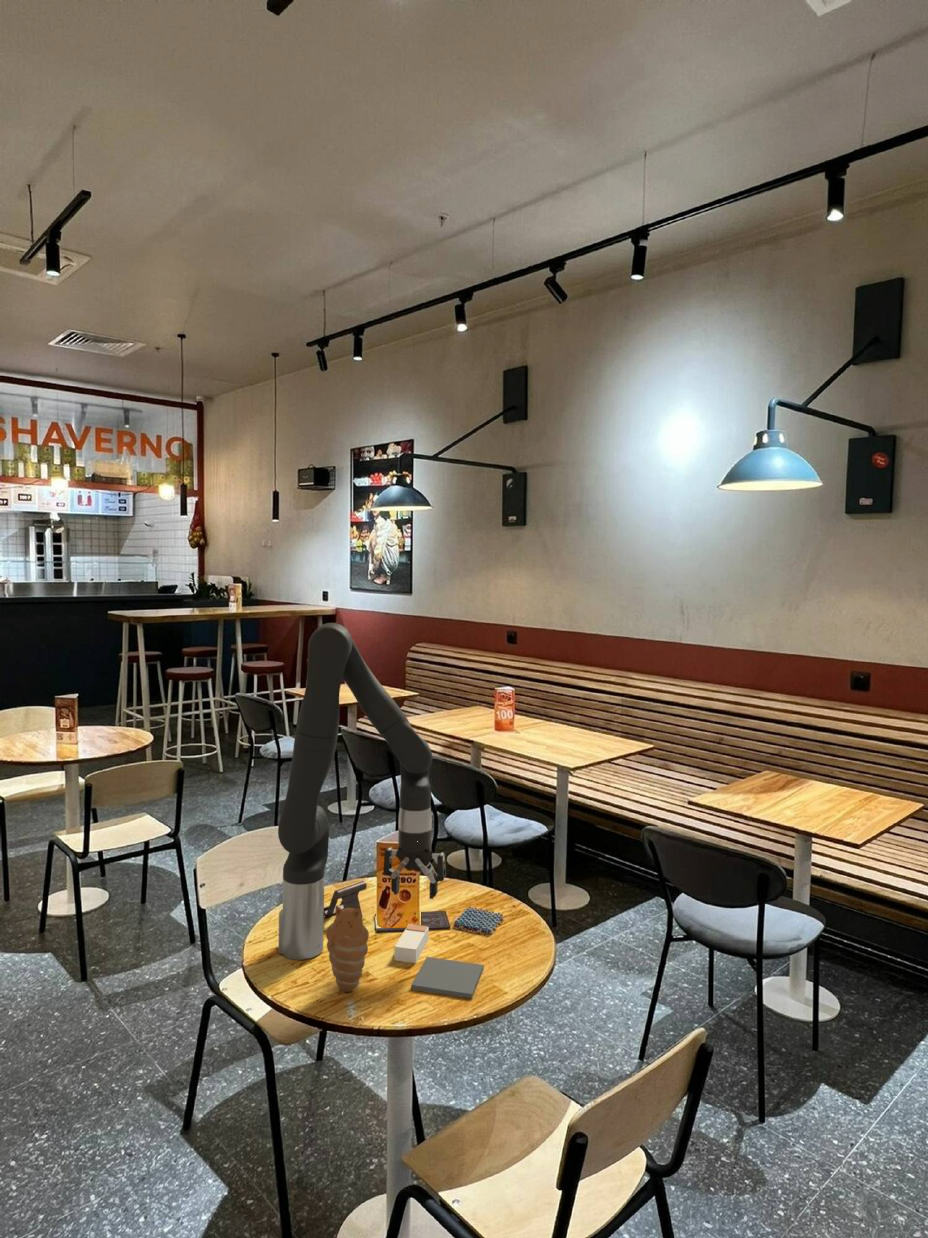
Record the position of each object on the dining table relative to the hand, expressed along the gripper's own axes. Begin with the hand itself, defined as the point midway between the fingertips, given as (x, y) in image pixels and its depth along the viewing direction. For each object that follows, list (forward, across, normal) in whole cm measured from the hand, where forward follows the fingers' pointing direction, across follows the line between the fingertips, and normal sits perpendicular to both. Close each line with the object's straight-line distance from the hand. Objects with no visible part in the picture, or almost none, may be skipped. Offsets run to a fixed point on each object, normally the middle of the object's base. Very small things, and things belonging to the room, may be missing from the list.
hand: (414, 895), depth 175 cm
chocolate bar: (+14, -4, +13) cm, 19 cm away
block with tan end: (+13, 0, 0) cm, 13 cm away
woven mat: (+14, +12, +17) cm, 25 cm away
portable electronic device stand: (+13, -21, +12) cm, 28 cm away
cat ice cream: (+13, -8, -20) cm, 25 cm away
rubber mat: (+13, +11, -10) cm, 20 cm away
